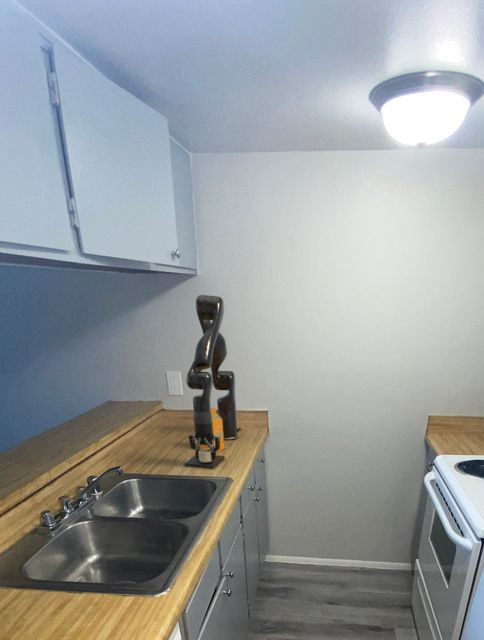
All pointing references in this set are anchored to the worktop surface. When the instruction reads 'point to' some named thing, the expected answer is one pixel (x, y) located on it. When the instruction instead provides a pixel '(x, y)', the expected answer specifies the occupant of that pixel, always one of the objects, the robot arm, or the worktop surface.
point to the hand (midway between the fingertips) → (206, 459)
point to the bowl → (205, 455)
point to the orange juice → (216, 429)
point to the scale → (210, 465)
